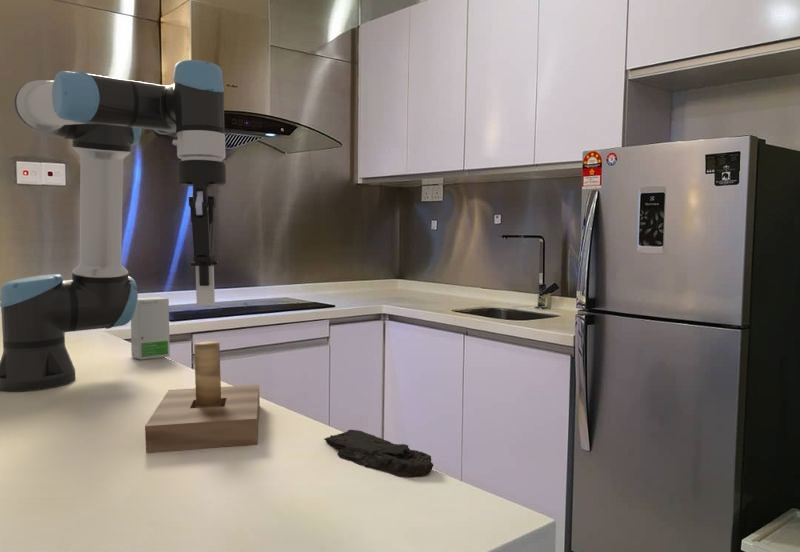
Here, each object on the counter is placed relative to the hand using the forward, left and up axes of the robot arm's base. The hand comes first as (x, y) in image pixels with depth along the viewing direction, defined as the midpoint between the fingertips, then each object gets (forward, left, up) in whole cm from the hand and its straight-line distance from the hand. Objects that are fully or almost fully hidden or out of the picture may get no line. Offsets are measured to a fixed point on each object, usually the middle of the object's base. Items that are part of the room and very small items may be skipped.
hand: (205, 305), depth 103 cm
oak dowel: (0, 0, -20) cm, 20 cm away
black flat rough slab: (+20, +24, -21) cm, 38 cm away
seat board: (0, 0, -20) cm, 20 cm away
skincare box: (-67, -21, -21) cm, 73 cm away
